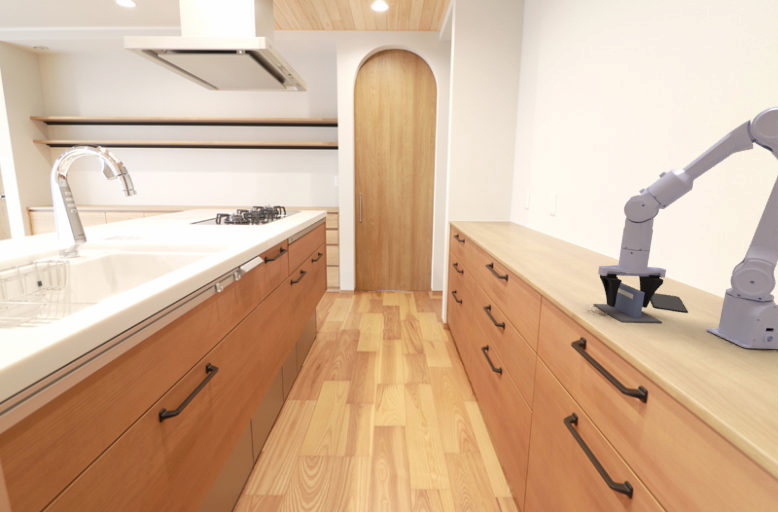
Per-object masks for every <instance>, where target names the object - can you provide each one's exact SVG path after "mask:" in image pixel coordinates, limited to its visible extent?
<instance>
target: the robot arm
mask: <svg viewBox="0 0 778 512" xmlns="http://www.w3.org/2000/svg"><path fill="white" fill-rule="evenodd" d="M754 143H755V144H756V145H758V146H760V148H761V147H762V149H765V150H768V151H769V152H771V154H772V155H773V157H774V158H775V159H776V160H777V161H778V105H777V106H776V105H775V106H771V107H768V108H766V109H763V110H762V111H760V112H758V113H757V115H756V116H755V117H754V118H752V120H751V119H748V120H746V121H745V122H743V123H741V124H740V125H739V126H737V127H736V128H734V129H733V130H731V131H729V132H727V133H726V135H724V136H723V137H721V139H719V140H718V141H717V142H715V143H714V144H713V145H712V146H710V147H709V148H708V149H706V150H704V151H703V153H701V154H700V155H698V156H697V157H696V158H695V159H693V160H692V161H691V162H690V163H689V164H687V165H686V166H685V167H683V168H680V169H676V168H675V169H674V168H673V169H670V170H669V171H667V172H666V171H663V172H661V173H660V174H659V175H658V176H659V178H658V179H657V180H655V182H653V183H652V184H651V185H649V186H648V187H646V188H641V189H640V190H639V193H640V194H637V195H633V196H631V197H629V199H628V200H627V201H626V203H625V204H624V208H623V214H624V216H625V220H624V227H623V230H622V238H621V245H620V252H619V258H618V264H616V265H598V272H597V273H598V275H599V278H600V280H601V283H602V286H603V289H604V294H605V298H606V304H607V305H609V306H611V307H614V306H615V304H616V298H617V292H618V289H619V286H620V284H621V283H623V280H622V279H620V278H619V277H618V276H620V277H621V276H622V277H623V276H624V277H638V278H639V290H640V291H642V292H644V300H643V306H642V308H645V309H646V308H648V306H649V304H650V303H651V301H650V300H651V298H652V296H653V294H654V293H657V290H658V289H659V288H660V287H661V286H662V285H663V284H664V279H662V278H666V272H667V269H665V268H664V267H663V268H662V267H656V266H655V267H654V266H651V267H650V266H648V265H649V259H650V252H651V246H652V240H653V233H654V229H653V227H654V220H655V218H656V217H657V216H658V214H659V212H660V210H665V209H666V208H668V207H669V206H670V205H672V204H673V203H675V202H676V201H677V200H679V199H680V198H682V197H684V196H685V195H686V194H687V193H689V192H690V191H692V190H693V185H694V181H695V180H697V179H698V178H699V177H701V176H702V175H704V174H705V173H707V172H708V171H710V170H711V169H712V168H715V166H717V165H718V164H719V163H721V162H723V161H724V160H726V159H727V158H729V157H730V156H732V155H733V154H736V153H740V152H743V151H744V152H745V151H749V150H753V149H754ZM777 265H778V175H777V177H776V180H775V182H774V184H773V187H772V189H771V192H770V194H769V196H768V199H767V202H766V204H765V206H764V209H763V211H762V214H761V217H760V219H759V221H758V224H757V227H756V229H755V231H754V234H753V237H752V239H751V241H750V244H749V246H748V249H747V250H746V254H745V256H744V257H743V259H742V260H741V261H740V262H739V263H738V264H736V265H735V266H734V268H733V270H732V273H731V274H732V275H731V277H730V280H729V281H730V286H731V287H730V288H726V289H725V291H724V297H723V301H722V308H721V313H720V316H719V322H718V323H719V324H718V327H717V328H716V327H715V328H714V327H707V328H706V331H707V332H709V333H712V334H714V335H715V336H718V337H720V338H722V339H724V340H727V341H728V342H731V343H733V344H735V345H738V346H739V347H742V348H744V349H760V350H761V349H764V350H765V349H766V350H767V349H768V350H769V349H770V350H778V304H777V303H776V302H775V296H774V295H773V294H771V293H772V292H773V291H774V289H775V287H776V278H775V270H776V267H777Z"/></svg>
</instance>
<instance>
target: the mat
mask: <svg viewBox="0 0 778 512" xmlns="http://www.w3.org/2000/svg"><path fill="white" fill-rule="evenodd" d="M593 306H594V307H595V308H597V309H599V310H600V311H602V312H604V313H605V314H606V315H608V316H610V317H613V318H614V319H616V320H618V321H619V322H620V323H636V324H637V323H639V324H643V323H645V324H662V323H663V321H662V320H660V319H658V318H656V317H655V316H652V315H649V314H648V313H646V312H644V311H642V312H641V318H632V317H630V316H629V315H627V314H625V313H623V312H621V311H619V310H618V309H616V308H614V307H611V306H609V305H607V303H593Z"/></svg>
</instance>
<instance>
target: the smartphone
mask: <svg viewBox="0 0 778 512" xmlns="http://www.w3.org/2000/svg"><path fill="white" fill-rule="evenodd" d="M650 305H651V306H652V308H653V309H657V310H663V311H670V312H676V313H683V314H688V313H689V311H688V309H687V307H686V306H685V305H684V302H683V301H682V299H681V298H680V297H679V296H678V295H670V294H662V293H657V292H655V293H654V294H653V296H652V298H651V300H650Z"/></svg>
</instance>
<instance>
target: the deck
mask: <svg viewBox="0 0 778 512" xmlns="http://www.w3.org/2000/svg"><path fill="white" fill-rule="evenodd" d="M643 300H644V292H642V291H640V289H638V288H635V287H632V286H630V285H628V284H626V283H623V282H621V284H620V286H619V289H618V292H617V298H616V304H615V306H614V308H616V309H618V310H619V311H621V312H623V313H625V314H627V315H629V316H630V317H632V318H641V312H643V311H642V310H643V307H642V306H643Z"/></svg>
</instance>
